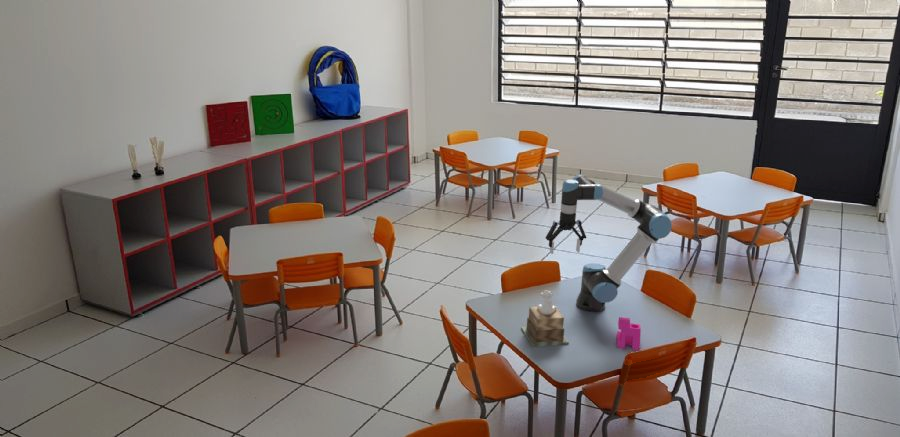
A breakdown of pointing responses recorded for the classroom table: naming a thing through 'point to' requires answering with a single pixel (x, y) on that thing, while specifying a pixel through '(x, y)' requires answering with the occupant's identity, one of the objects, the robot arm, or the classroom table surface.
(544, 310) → the seated beast figurine
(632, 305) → the classroom table surface
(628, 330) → the bracket
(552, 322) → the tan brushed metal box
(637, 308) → the classroom table surface
